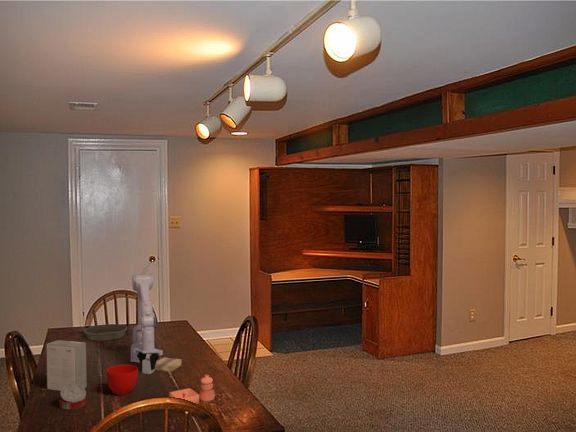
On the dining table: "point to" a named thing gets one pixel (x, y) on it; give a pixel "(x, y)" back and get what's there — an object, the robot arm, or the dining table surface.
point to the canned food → (72, 396)
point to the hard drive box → (65, 363)
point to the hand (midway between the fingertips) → (148, 368)
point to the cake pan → (105, 332)
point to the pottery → (192, 396)
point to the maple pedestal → (167, 364)
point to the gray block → (146, 366)
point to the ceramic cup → (122, 378)
